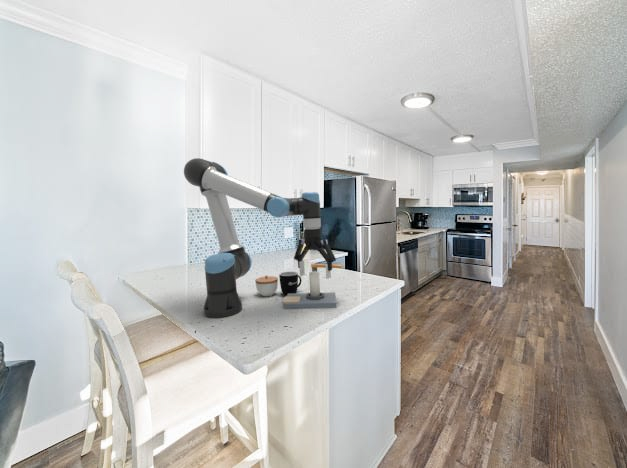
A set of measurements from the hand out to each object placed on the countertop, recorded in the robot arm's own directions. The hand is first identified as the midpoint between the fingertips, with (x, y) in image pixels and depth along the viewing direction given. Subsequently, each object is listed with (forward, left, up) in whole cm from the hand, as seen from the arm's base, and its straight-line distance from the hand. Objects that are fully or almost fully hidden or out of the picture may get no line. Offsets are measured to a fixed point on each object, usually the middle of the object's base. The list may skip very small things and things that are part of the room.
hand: (315, 276), depth 120 cm
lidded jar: (-24, +12, -11) cm, 29 cm away
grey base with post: (-2, -1, -11) cm, 11 cm away
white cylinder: (0, 0, -9) cm, 9 cm away
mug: (-12, +13, -11) cm, 21 cm away
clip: (+5, +3, +3) cm, 7 cm away
